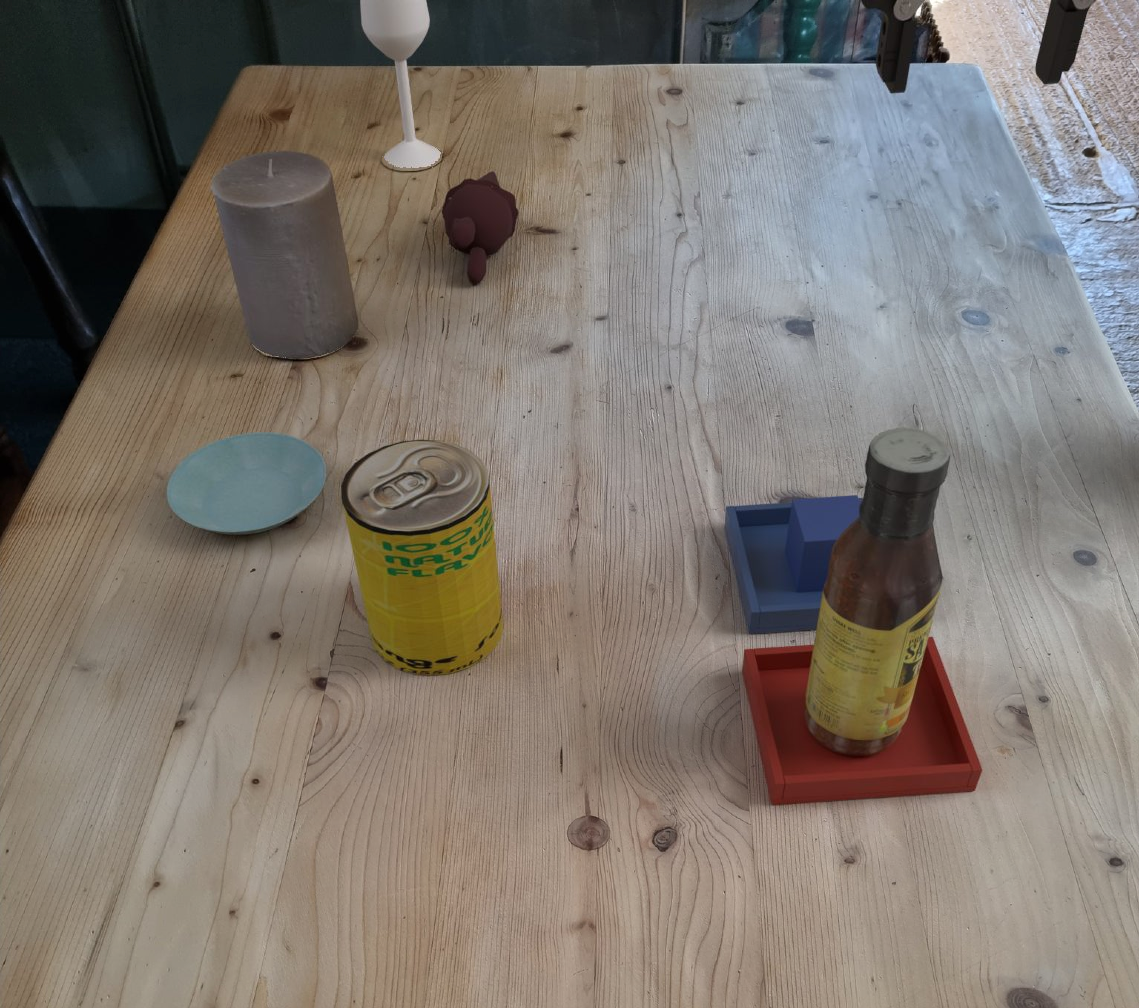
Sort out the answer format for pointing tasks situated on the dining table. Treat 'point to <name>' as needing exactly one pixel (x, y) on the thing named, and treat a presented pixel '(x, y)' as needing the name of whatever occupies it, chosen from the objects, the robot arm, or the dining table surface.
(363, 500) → the beverage can
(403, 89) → the champagne flute
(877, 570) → the sauce bottle
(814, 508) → the blue block
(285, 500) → the saucer
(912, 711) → the red tray
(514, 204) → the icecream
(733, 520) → the blue tray
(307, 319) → the pillar candle
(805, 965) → the dining table surface
